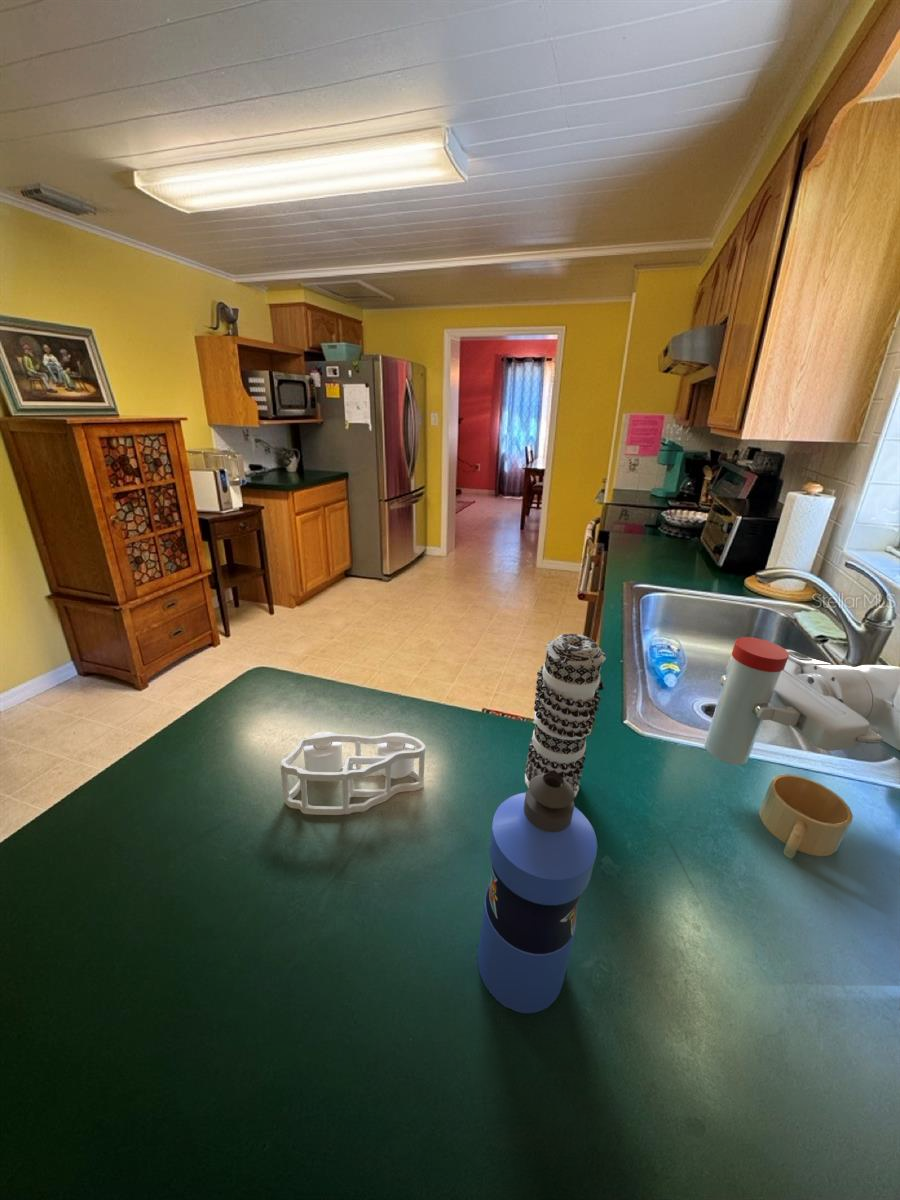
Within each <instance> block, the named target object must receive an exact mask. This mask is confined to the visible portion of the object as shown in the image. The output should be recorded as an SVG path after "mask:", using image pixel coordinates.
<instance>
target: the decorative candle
mask: <svg viewBox="0 0 900 1200" xmlns="http://www.w3.org/2000/svg"><path fill="white" fill-rule="evenodd" d="M545 651H546V654H545V661H544V663H543V664H542V665H541V666H540V670H538V671H537V672H536V675H537V679H536V686H535V690H536V692H535V694H534V695H535V699H534V706H533V711H534V712H533V721H534V723H535V725H534V729H533V731H532V737H531V738H530V739H529V746H528V753H527V757H526V764H525V771H524V772H525V773H524V783H525V785H526V787H527V789H528V788H529V783H530V781H531V779H532V778H533V777H535V776H537V775H540V774H544V773H550V772H552V773H556V774H558V775H560V776H561V777H562V778H563V779H565V780H566V781H567V782H568V783H569V784H570V785H571V786H572V788H573V790H574V795H575V796H574V799H575V798H576V797H577V795H578V792H579V790H580V787H579V786H581V782H580V780H581V779H582V778H583V774H582V772H583V769H584V767H585V765H584V762H585V760H586V759H587V757H586V754H587V751H586V747H587V741H586V740H587V736H589V735H590V733H591V731H592V729H593V723H594V722H595V721H596V718H595V714H596V712H597V711H599V706H598V705H599V702H600V701H601V700H602V698H601V696H600V692H599V691H602V690H604V688H605V685H604V682H603V680H602V679H601V677H602V676H601V674H600V673H601V669H602V664H604V663H605V660H606V659H607V656H606V653H605V651H604V650H603V649H602V648H601V647H599V644H598V643H597V642H596V641H595V640H594V639H592V638H590V637H588V636H586V635H583V634H577V633H563V634H561V635H558V636H557V637H556V638H555V639H552V640H549V641H548V642H547V644H546V645H545Z"/></svg>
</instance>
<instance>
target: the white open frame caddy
mask: <svg viewBox="0 0 900 1200" xmlns="http://www.w3.org/2000/svg"><path fill="white" fill-rule="evenodd" d="M343 743H353V744H354V745H355V747H354V748H355V755H347V756H346V757H345V758H344V759H343ZM362 745H377V755H362ZM415 748H417V749H415ZM426 748H427V747H426V744H425V743H424V742H423V741H422V740H421V739H419V738H417V737H415V736H412V735H409V734H407V733H405V732H390V733H386V734H382V735H375V736H374V735H373V736H372V735H371V736H370V735H362V734H351V733H350V734H349V733H336V732H333V731H318V732H316V733H313V734H311V735H310V736H308V737H304V738H301V739H300V740H299V741H298V742H297V745H296V747H295V748H294V749H293V750H292V751H291V752H290V754H288V755H287V756H286V757H284V758H282V759H281V761H280V774H281V784H282V794H283V802H284V803H285V805H286V806H288V807H289V808H291V809H296V810H300V812H301V813H302V814H304V815H314V816H315V815H316V816H318V815H319V816H341V815H346V816H347V815H350V814H352V813H364V812H366V811H368V810H369V809H370V808H372V807H374V806H377V805H379V804H382V803H385V802H386V801H388V800H389V799H391V798H392V797H393V796H394V795H396V794H397V793H398V794H399V793H403V792H414V791H418V790H420V789H422V788H423V787H424V786H425V760H426ZM302 751H303V761H304V768H302V767H299V766H296V765H292V764H293V763H294V761H296V760H297V758H298V757H300V755H301V754H302ZM415 759H419V760H418V770H416V769H414V767H415ZM343 760H344V761H343ZM362 765H366V766H365V767H362ZM289 775H292V776H296V777H297V779H299V780H298V781H297V782H296V784H295V785H294V786H293V787H292V788H291V789H290V786H289V785H290V784H289ZM378 776H383V777H384V782H385V783H384V788H355V787H354V779H365V778H367V777H378ZM407 776H409V777H411V778H414V779H415V780H416V782H403V783H398V784H395V785H393V786H392V779H401V778H405V777H407ZM307 781H311V782H341V796H342V797H341V799H342V805H339V806H338V805H337V806H335V805H334V806H331V805H330V806H328V805H312V804H309V797H308V785H307V784H308V783H307ZM299 793H300V796H301V797H300V798H301V800H299V799H294V798H295V797H296V796H298V794H299ZM352 798H368V799H367V800H365V801H364V802H360V803H359V802H358V803H351V799H352ZM350 803H351V804H350Z"/></svg>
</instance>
